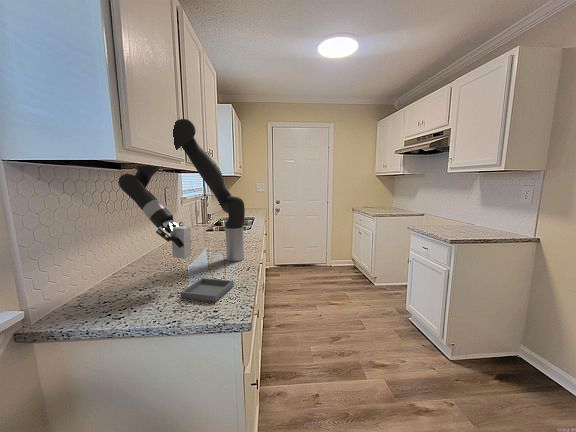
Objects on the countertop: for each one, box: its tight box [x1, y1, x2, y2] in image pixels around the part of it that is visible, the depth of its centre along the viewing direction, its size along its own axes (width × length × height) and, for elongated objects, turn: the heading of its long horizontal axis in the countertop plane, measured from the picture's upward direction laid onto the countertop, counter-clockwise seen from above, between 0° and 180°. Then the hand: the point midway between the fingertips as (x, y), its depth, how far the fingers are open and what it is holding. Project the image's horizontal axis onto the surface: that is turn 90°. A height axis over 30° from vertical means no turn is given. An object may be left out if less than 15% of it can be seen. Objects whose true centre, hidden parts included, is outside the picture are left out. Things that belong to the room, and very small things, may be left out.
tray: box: [179, 277, 235, 304], centre depth 99 cm, size 14×14×2 cm
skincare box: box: [171, 226, 192, 259], centre depth 105 cm, size 6×4×12 cm
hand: (185, 244), depth 104 cm, fingers closed on skincare box, 4 cm apart
